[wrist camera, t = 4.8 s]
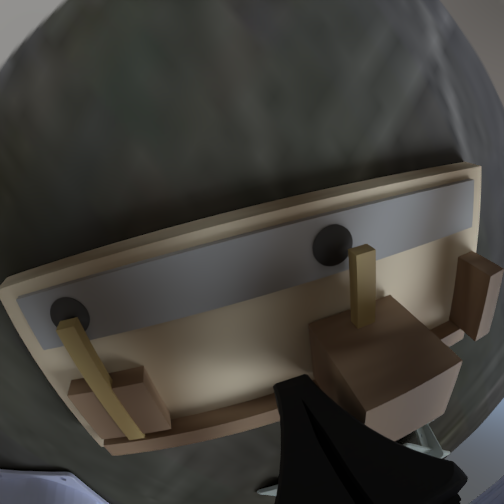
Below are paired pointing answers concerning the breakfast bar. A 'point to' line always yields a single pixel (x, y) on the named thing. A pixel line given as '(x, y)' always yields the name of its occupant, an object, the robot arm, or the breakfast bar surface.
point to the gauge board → (244, 303)
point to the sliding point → (381, 358)
